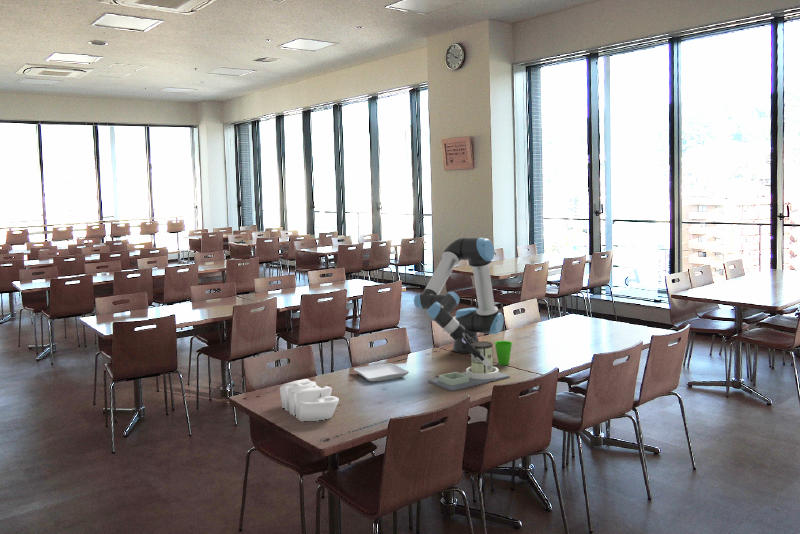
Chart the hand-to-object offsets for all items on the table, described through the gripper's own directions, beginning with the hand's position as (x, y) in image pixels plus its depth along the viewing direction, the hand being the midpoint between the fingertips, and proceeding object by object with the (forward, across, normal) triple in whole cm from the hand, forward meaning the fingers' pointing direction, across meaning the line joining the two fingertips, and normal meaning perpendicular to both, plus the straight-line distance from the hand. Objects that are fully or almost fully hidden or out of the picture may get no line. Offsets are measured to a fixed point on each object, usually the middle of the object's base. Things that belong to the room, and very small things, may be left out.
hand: (488, 361), depth 318 cm
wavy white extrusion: (-47, +52, -58) cm, 91 cm away
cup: (+11, -23, 0) cm, 25 cm away
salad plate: (-31, -1, -42) cm, 53 cm away
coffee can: (+2, 0, -6) cm, 7 cm away
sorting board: (-1, +5, -12) cm, 13 cm away
